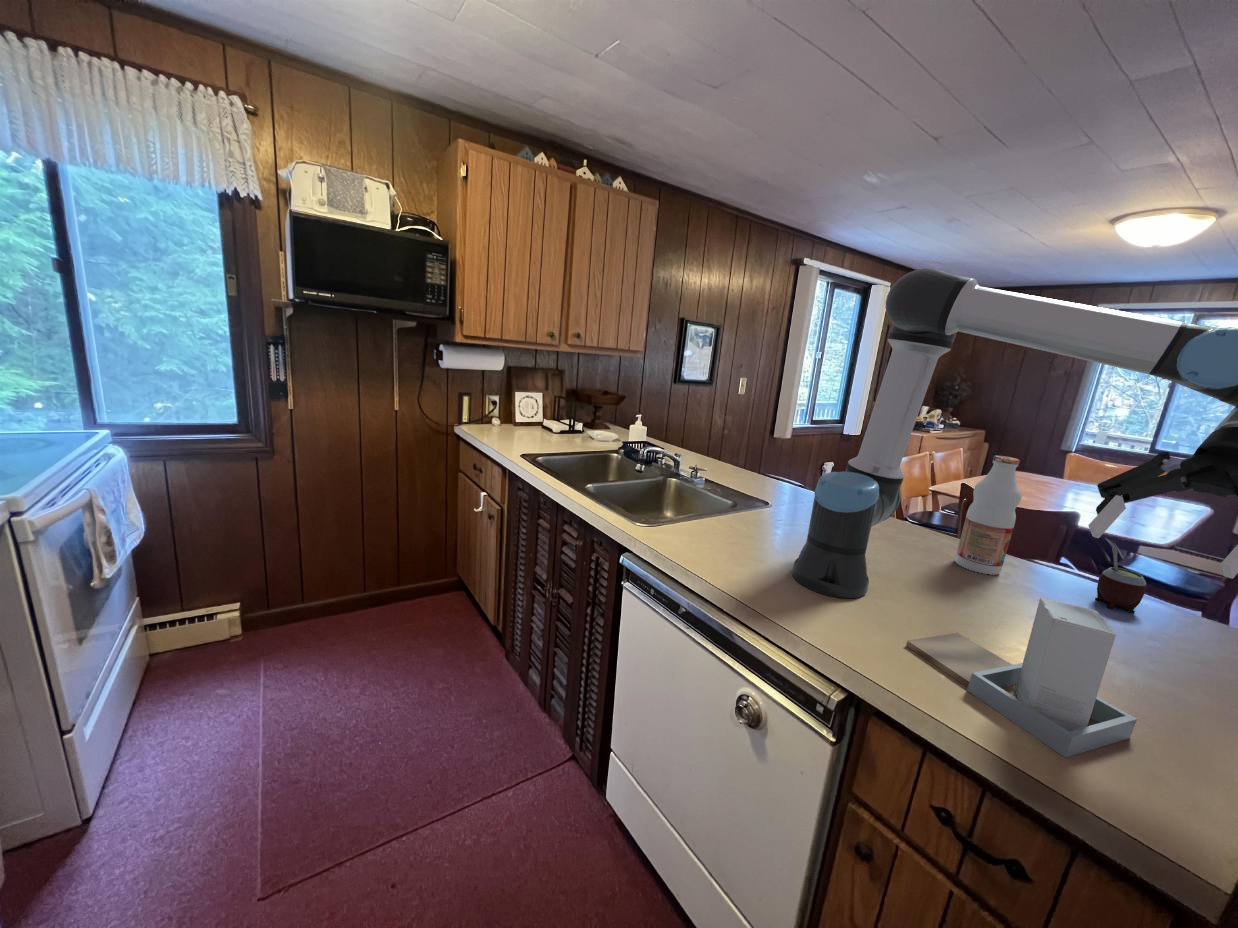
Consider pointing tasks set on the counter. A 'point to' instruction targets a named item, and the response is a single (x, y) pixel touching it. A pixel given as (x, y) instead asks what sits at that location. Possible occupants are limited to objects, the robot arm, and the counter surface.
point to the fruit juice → (990, 519)
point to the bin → (1066, 743)
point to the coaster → (956, 655)
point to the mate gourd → (1120, 586)
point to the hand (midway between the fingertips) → (1153, 549)
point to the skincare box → (1064, 663)
